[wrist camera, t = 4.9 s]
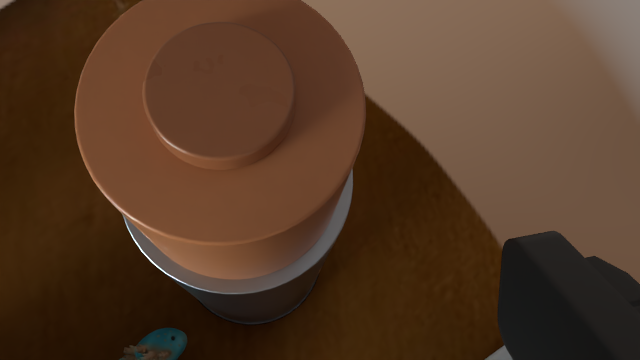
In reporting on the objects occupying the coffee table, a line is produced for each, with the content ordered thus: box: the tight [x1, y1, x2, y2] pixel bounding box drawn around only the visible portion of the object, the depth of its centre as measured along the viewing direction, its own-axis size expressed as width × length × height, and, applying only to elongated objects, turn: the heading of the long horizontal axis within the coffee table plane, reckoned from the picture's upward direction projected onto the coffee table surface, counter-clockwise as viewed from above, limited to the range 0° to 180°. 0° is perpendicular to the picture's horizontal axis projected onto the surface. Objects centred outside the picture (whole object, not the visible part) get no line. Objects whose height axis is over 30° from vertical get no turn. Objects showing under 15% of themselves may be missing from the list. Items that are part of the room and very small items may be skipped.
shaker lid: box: [74, 0, 366, 280], centre depth 15 cm, size 6×6×6 cm
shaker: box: [123, 170, 353, 325], centre depth 24 cm, size 7×7×14 cm
